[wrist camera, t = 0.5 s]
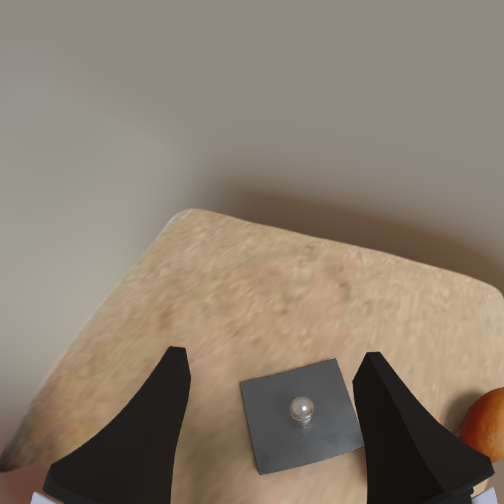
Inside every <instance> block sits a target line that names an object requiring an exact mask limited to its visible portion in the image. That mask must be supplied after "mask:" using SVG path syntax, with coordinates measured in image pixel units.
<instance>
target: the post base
mask: <svg viewBox="0 0 504 504" xmlns="http://www.w3.org/2000/svg"><path fill="white" fill-rule="evenodd" d="M240 384H241V389H242V394H243V399H244V404H245V409H246V414H247V419H248V424H249V429H250V434H251V439H252V444H253V448H254V453H255V458H256V462H257V467H258V471H259V475H262V474H267V473H273V472H278V471H282V470H287V469H291V468H295V467H300V466H304V465H307V464H311V463H315V462H318V461H322V460H325V459H328V458H332V457H335V456H338V455H341V454H344V453H347V452H350V451H352V450H355V449H358V448H361V447H363V446H364V441H363V436H362V433H361V430H360V427H359V424H358V421H357V417H356V415H355V412H354V409H353V406H352V403H351V400H350V397H349V394H348V391H347V388H346V385H345V382H344V380H343V377H342V374H341V371H340V368H339V366H338V363H337V360H336V358H334V359H331V360H328V361H324V362H321V363H318V364H314V365H311V366H307V367H304V368H300V369H296V370H292V371H289V372H285V373H281V374H277V375H272V376H268V377H264V378H259V379H255V380H250V381H245V382H241V383H240Z"/></svg>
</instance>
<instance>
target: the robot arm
mask: <svg viewBox="0 0 504 504" xmlns="http://www.w3.org/2000/svg"><path fill="white" fill-rule="evenodd" d="M190 382H191V375H190V370H189V365H188V359H187V354H186V349H185V348H182V347H173V346H170V347H169V348H168V349H167V350H166V352H165V354H164V355H163V357H162V358H161V360H160V362H159V363H158V365H157V366H156V368H155V369H154V370H153V372H152V373H151V375H150V376H149V377H148V379H147V380H146V381H145V383H144V384H143V385H142V387H141V388H140V389H139V391H138V392H137V393H136V394H135V395H134V397H133V398H132V399H131V400H130V401H129V403H128V404H127V405H126V406H125V407H124V408H123V409H122V411H121V412H120V413H119V414H118V415H117V416H116V417H115V418H114V419H113V420H112V421H111V422H110V423H109V424H108V425H106V426H105V427H104V428H103V429H102V430H101V431H100V432H99V433H97V434H96V435H95V436H94V437H93V438H91V439H90V440H89V441H87V442H86V443H85V444H83V445H82V446H80V447H79V448H78V449H76V450H75V451H73V452H72V453H70V454H69V455H67V456H65V457H63V458H62V459H60V460H58V461H57V462H55V463H53V464H52V465H51V466H50V469H49V470H48V473H47V476H46V479H45V482H44V486H43V492H45V493H46V494H48V495H50V496H52V497H54V498H55V499H57V500H59V501H61V502H63V503H64V504H170V499H171V485H172V474H173V465H174V457H175V451H176V446H177V441H178V437H179V433H180V429H181V426H182V422H183V418H184V414H185V410H186V406H187V402H188V397H189V390H190ZM352 383H353V393H354V401H355V406H356V410H357V415H358V419H359V423H360V428H361V432H362V436H363V441H364V446H365V452H366V463H367V504H498V503H497V499H496V495H495V491H494V487H490V488H489V489H487V490H485V491H483V492H481V493H480V494H478V495H476V496H474V497H472V498H471V496H470V495H471V494H473V492H474V490H473V487H474V486H476V485H477V484H479V483H481V482H483V481H484V480H486V479H488V478H489V477H491V476H492V475H493V474H494V473H495V472H494V469H493V466H492V462H491V459H490V457H488V456H486V455H484V454H482V453H480V452H479V451H477V450H475V449H473V448H472V447H470V446H469V445H467V444H465V443H464V442H462V441H461V440H460V439H458V438H457V437H456V436H454V435H453V434H452V433H451V432H449V431H448V430H447V429H446V428H445V427H443V426H442V425H441V424H440V423H439V422H438V421H437V420H436V419H435V418H434V417H433V416H432V415H431V414H430V413H429V412H428V411H427V410H426V409H425V408H424V407H423V406H422V405H421V403H420V402H419V401H418V400H417V399H416V398H415V397H414V395H413V394H412V393H411V392H410V390H409V389H408V388H407V387H406V385H405V384H404V383H403V382H402V380H401V379H400V378H399V376H398V375H397V374H396V372H395V371H394V370H393V369H392V367H391V366H390V365H389V363H388V362H387V361H386V359H385V358H384V357H383V355H382V354H381V353H380V352H367V353H366V355H365V357H364V359H363V361H362V363H361V365H360V367H359V369H358V371H357V373H356V375H355V377H354V379H353V381H352ZM31 504H60V503H58V502H55V501H53V500H51V499H49V498H47V497H45V496H43V495H41V494H39V493H38V492H34V494H33V497H32V500H31Z"/></svg>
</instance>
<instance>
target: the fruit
mask: <svg viewBox="0 0 504 504" xmlns="http://www.w3.org/2000/svg"><path fill="white" fill-rule="evenodd" d="M453 435H460V436H461V441H462V442H464V443H465V444H467V445H469V446H470V447H472V448H473V449H475V450H477V451H479V452H480V453H482V454H484V455H486V456H488V457H490V459H491V462H492V463H494V462H496V461H498V460H500V459H501V458H502V457H504V387H502V388H497V389H494V390H492V391H490V392H488V393H486V394H484V395H483V396H482V397H480V398H479V399H478V400H477V401H476V402H475V403H474V404H473V405H472V406H471V407H470V409H469V411H468V414H467V416H466V419H465V421H464V422H463V424H462V426H461V428H460V429H459V431H458V432H457V433H453Z"/></svg>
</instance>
